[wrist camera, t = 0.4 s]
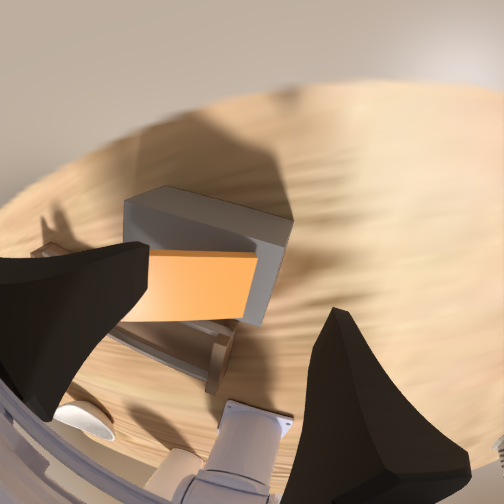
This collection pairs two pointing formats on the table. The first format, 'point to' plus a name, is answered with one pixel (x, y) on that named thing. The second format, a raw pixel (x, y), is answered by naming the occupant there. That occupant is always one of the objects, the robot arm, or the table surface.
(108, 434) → the spoon rest
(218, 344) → the rail
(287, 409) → the table surface
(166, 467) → the foam cup
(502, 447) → the french press
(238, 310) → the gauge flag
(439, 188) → the table surface
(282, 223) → the box
